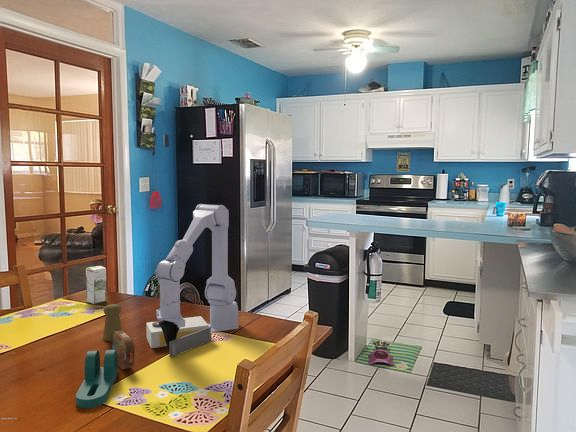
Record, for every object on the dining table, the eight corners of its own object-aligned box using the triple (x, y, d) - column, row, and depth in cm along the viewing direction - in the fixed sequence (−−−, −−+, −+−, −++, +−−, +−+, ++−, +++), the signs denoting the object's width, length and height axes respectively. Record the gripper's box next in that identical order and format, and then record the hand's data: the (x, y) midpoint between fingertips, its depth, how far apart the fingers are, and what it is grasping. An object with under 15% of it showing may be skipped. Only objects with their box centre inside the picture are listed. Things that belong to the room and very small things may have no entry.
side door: (209, 339, 148) (209, 326, 147) (213, 340, 147) (213, 327, 146) (169, 356, 134) (169, 341, 134) (172, 357, 133) (172, 342, 133)
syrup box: (98, 298, 193) (97, 265, 192) (107, 301, 190) (106, 267, 189) (86, 302, 189) (85, 267, 187) (94, 304, 185) (93, 269, 184)
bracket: (91, 375, 122) (90, 347, 121) (118, 373, 123) (117, 345, 123) (72, 410, 104) (71, 377, 104) (103, 407, 106) (102, 375, 105)
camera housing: (200, 330, 157) (200, 314, 157) (209, 340, 148) (209, 323, 147) (146, 337, 150) (146, 320, 149) (151, 349, 140) (151, 331, 140)
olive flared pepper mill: (116, 341, 146) (115, 308, 145) (99, 340, 147) (98, 306, 146) (126, 335, 151) (125, 302, 150) (110, 333, 153) (109, 301, 152)
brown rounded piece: (110, 355, 135) (109, 327, 134) (120, 353, 137) (120, 325, 136) (125, 374, 123) (124, 344, 122) (136, 371, 125) (136, 341, 124)
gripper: (146, 297, 139) (147, 340, 140) (169, 308, 128) (169, 355, 130) (167, 293, 144) (168, 335, 145) (191, 303, 133) (191, 349, 134)
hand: (170, 344), depth 138 cm, fingers closed
